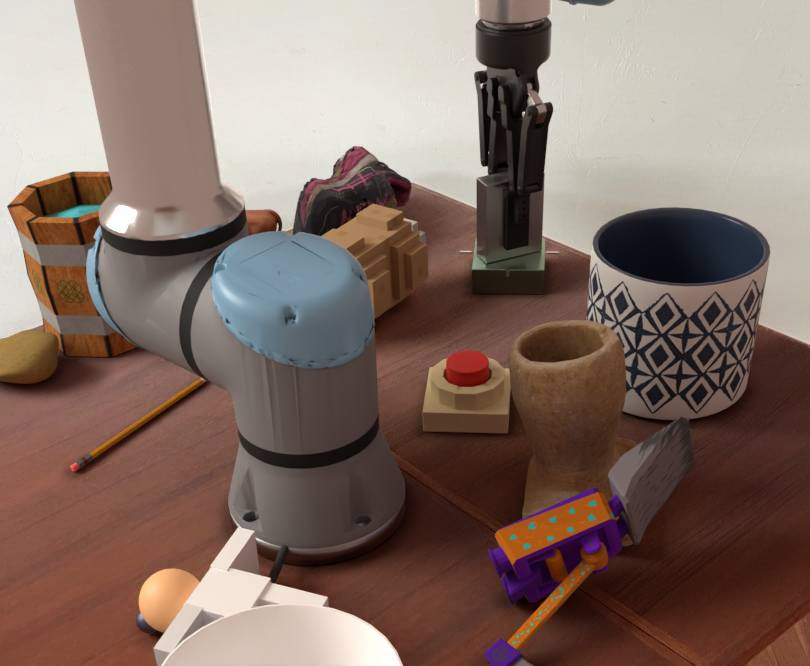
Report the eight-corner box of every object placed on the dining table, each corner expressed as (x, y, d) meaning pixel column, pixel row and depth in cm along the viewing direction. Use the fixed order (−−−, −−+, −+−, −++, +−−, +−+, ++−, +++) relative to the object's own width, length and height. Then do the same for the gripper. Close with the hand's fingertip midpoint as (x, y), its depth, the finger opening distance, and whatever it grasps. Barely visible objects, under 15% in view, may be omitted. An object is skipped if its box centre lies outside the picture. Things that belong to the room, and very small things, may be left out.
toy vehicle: (695, 471, 90) (787, 622, 82) (455, 578, 92) (522, 737, 83) (686, 407, 83) (786, 565, 74) (427, 524, 84) (496, 692, 76)
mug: (46, 368, 118) (5, 234, 108) (44, 308, 128) (7, 181, 118) (231, 335, 121) (208, 202, 111) (216, 280, 131) (193, 153, 121)
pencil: (76, 473, 103) (73, 466, 103) (71, 472, 104) (68, 464, 103) (214, 378, 115) (212, 371, 115) (209, 377, 115) (207, 370, 115)
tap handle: (486, 263, 125) (486, 183, 119) (476, 254, 127) (476, 175, 121) (541, 250, 127) (545, 170, 121) (531, 241, 129) (534, 162, 123)
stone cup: (516, 440, 104) (520, 294, 94) (647, 452, 102) (665, 304, 92) (489, 545, 93) (490, 392, 83) (634, 562, 91) (653, 406, 81)
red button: (487, 389, 105) (487, 373, 104) (444, 388, 105) (444, 372, 104) (489, 366, 108) (489, 350, 107) (448, 365, 108) (447, 349, 107)
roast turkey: (449, 287, 127) (447, 203, 121) (353, 360, 116) (346, 271, 110) (377, 267, 132) (372, 184, 125) (279, 334, 121) (268, 248, 114)
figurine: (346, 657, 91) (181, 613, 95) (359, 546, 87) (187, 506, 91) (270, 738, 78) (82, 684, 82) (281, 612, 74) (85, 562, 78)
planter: (571, 342, 117) (579, 211, 108) (723, 333, 117) (744, 202, 108) (596, 429, 105) (607, 290, 96) (766, 420, 105) (793, 280, 96)
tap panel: (557, 301, 124) (559, 275, 122) (456, 300, 125) (456, 274, 123) (558, 255, 132) (559, 230, 130) (463, 254, 134) (462, 229, 132)
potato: (84, 339, 117) (41, 377, 111) (55, 381, 122) (12, 419, 116) (29, 292, 115) (-17, 329, 109) (2, 337, 120) (-43, 374, 114)
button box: (507, 433, 105) (508, 397, 103) (422, 431, 106) (421, 395, 104) (510, 387, 111) (511, 352, 109) (430, 385, 112) (429, 350, 110)
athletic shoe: (261, 219, 127) (357, 228, 123) (329, 102, 138) (420, 107, 134) (287, 294, 136) (378, 304, 132) (350, 179, 147) (435, 185, 143)
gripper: (586, 33, 106) (573, 262, 121) (511, -7, 117) (507, 208, 133) (515, 46, 104) (511, 277, 119) (445, 4, 115) (449, 221, 130)
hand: (509, 240), depth 126 cm, fingers closed on tap handle, 2 cm apart
